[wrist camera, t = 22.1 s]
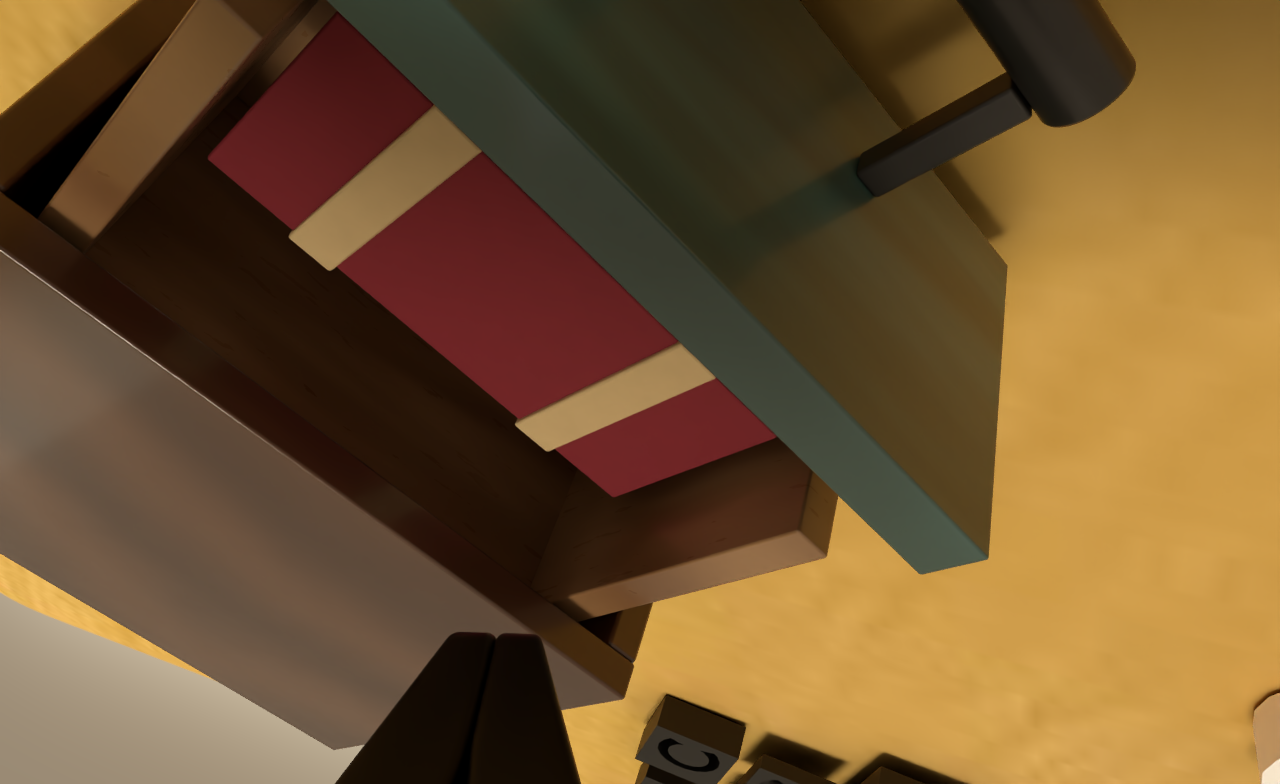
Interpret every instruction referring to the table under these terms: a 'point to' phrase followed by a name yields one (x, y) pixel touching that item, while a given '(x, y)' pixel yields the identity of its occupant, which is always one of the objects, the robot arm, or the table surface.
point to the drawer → (627, 265)
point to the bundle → (476, 267)
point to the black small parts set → (710, 745)
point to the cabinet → (220, 472)
